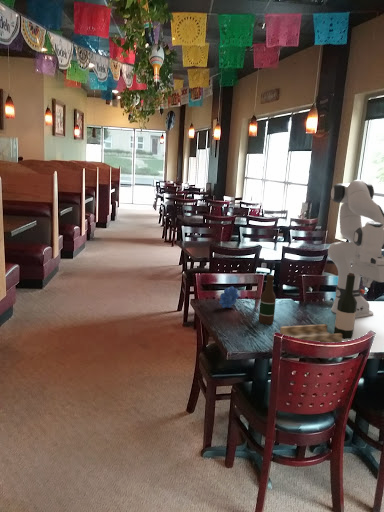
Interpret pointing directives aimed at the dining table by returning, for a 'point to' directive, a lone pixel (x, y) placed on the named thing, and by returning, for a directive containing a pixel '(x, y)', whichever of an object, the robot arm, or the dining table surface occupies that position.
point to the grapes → (229, 297)
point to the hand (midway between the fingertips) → (366, 286)
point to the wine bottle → (346, 310)
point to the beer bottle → (267, 303)
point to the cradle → (311, 333)
